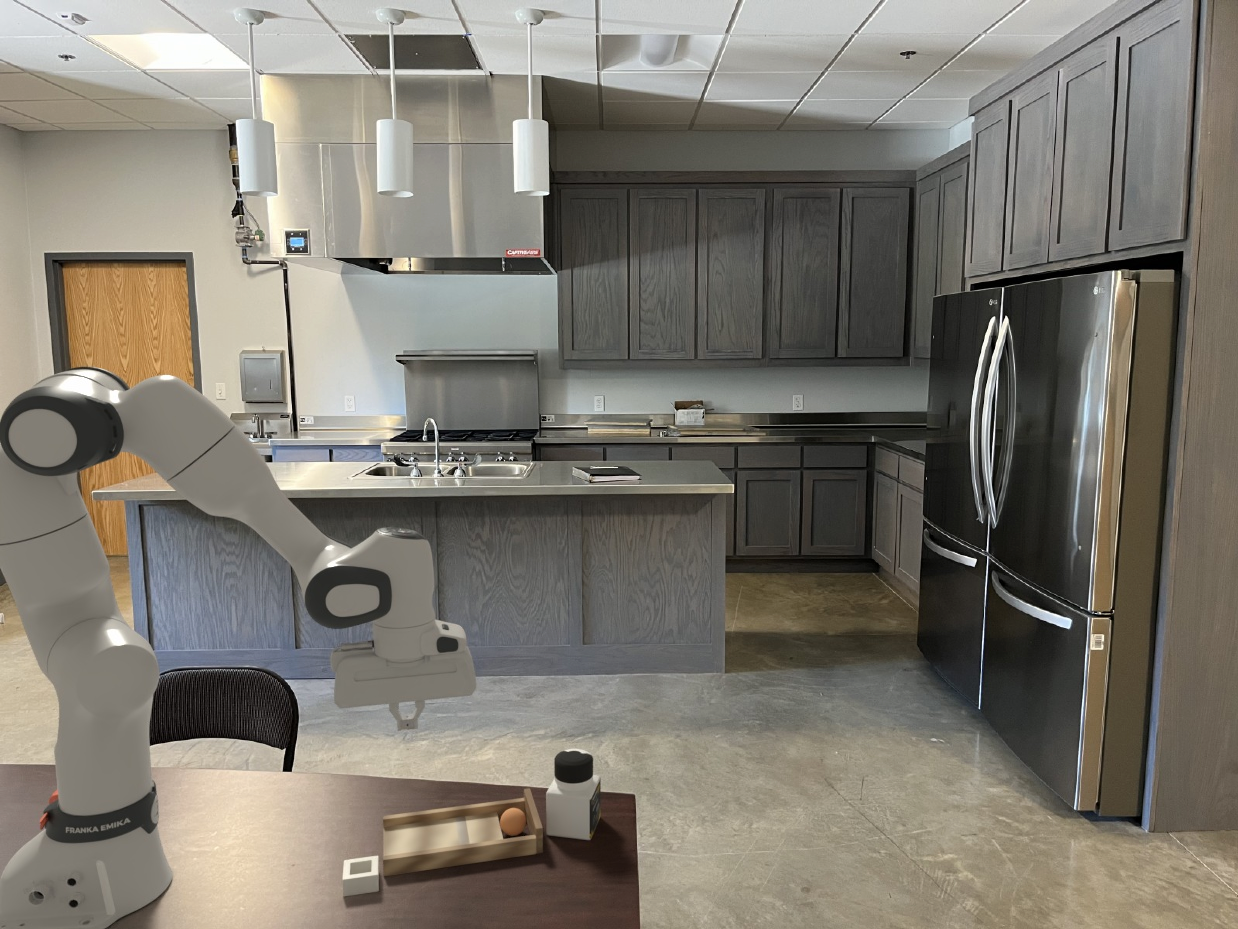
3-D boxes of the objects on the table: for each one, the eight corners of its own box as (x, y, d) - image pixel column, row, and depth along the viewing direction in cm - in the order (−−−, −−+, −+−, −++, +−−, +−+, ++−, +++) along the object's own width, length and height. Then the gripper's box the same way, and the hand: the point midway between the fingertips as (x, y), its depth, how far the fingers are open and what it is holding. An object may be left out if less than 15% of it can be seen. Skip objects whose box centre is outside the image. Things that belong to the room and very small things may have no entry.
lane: (383, 876, 124) (382, 850, 124) (383, 831, 136) (382, 807, 135) (542, 853, 130) (542, 828, 130) (530, 811, 142) (529, 788, 141)
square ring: (343, 896, 120) (342, 880, 119) (344, 876, 124) (343, 860, 124) (378, 891, 121) (378, 874, 121) (378, 871, 125) (378, 855, 125)
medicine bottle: (590, 841, 133) (590, 767, 132) (545, 836, 135) (545, 762, 133) (600, 816, 140) (601, 746, 139) (558, 812, 142) (557, 742, 140)
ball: (499, 820, 132) (525, 813, 133) (497, 806, 136) (522, 800, 137) (503, 844, 133) (529, 837, 134) (500, 829, 137) (525, 823, 138)
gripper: (328, 651, 121) (332, 746, 123) (476, 639, 126) (478, 730, 128) (330, 636, 127) (334, 727, 129) (472, 625, 132) (474, 712, 134)
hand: (407, 728), depth 128 cm, fingers closed
